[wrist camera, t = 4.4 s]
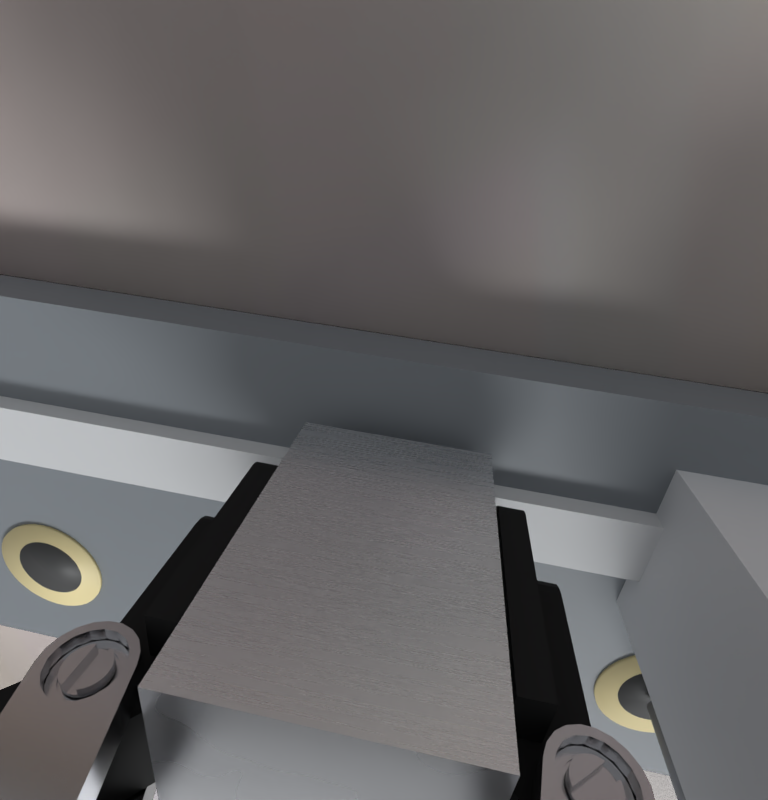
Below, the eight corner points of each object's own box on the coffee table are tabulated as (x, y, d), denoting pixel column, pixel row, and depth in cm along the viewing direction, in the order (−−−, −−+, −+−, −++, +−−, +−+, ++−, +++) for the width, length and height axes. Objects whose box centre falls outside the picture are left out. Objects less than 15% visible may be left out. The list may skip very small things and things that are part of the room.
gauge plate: (1011, 431, 10) (1999, 902, 4) (759, 748, 16) (978, 1178, 9) (-138, 253, 13) (-791, 342, 6) (-21, 578, 18) (-304, 816, 11)
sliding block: (490, 447, 10) (519, 775, 5) (436, 667, 14) (416, 1018, 8) (309, 415, 11) (138, 687, 5) (299, 638, 14) (187, 953, 8)
